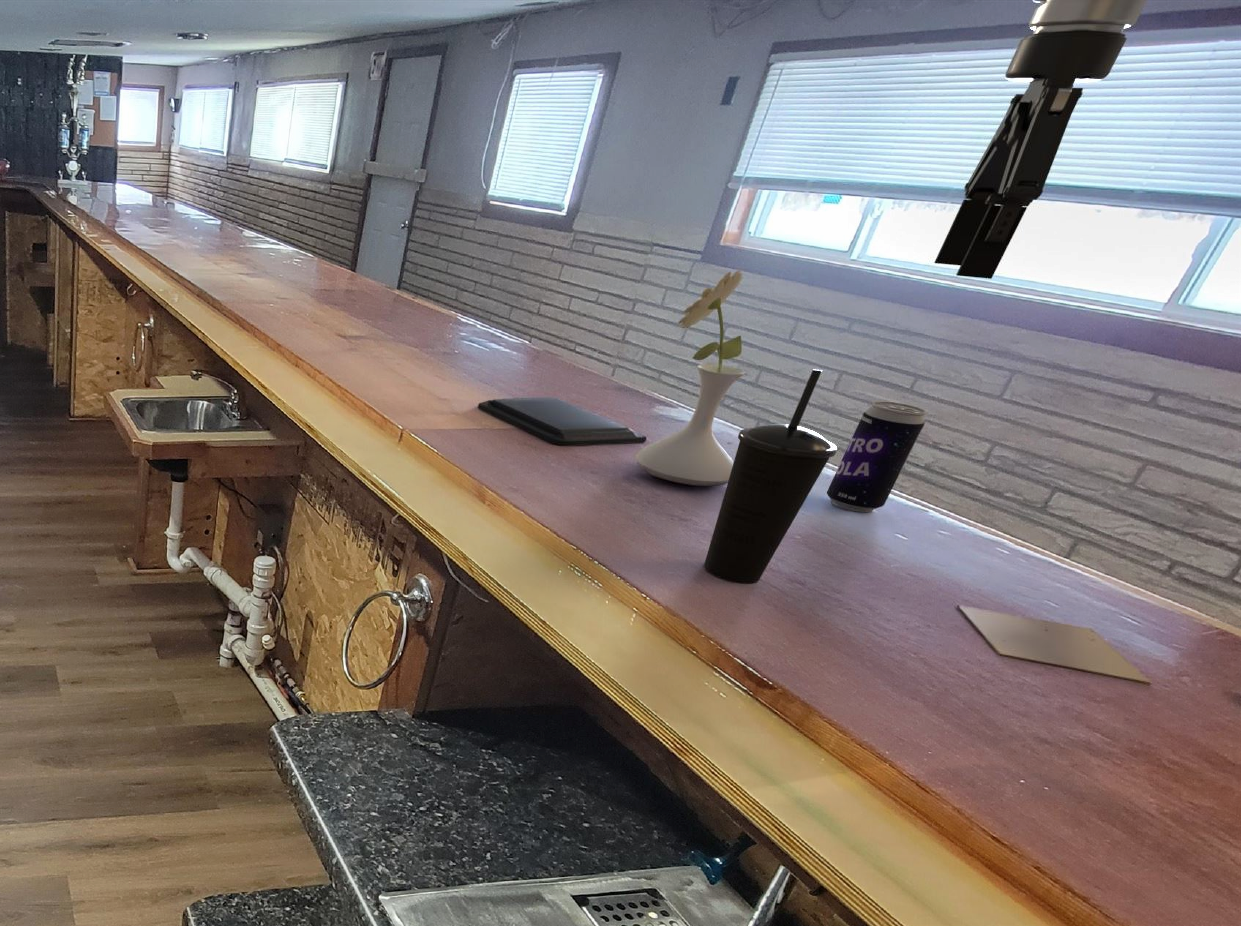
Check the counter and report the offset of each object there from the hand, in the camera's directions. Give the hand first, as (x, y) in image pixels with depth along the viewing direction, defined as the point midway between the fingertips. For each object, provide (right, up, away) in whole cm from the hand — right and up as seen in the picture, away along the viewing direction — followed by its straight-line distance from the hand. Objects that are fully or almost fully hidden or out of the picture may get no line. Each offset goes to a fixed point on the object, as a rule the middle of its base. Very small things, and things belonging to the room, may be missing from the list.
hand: (960, 270), depth 95 cm
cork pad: (-8, -40, -17) cm, 44 cm away
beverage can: (-2, -24, +12) cm, 27 cm away
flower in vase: (-19, -19, +18) cm, 33 cm away
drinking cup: (-29, -33, -6) cm, 45 cm away
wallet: (-24, -8, +38) cm, 46 cm away
